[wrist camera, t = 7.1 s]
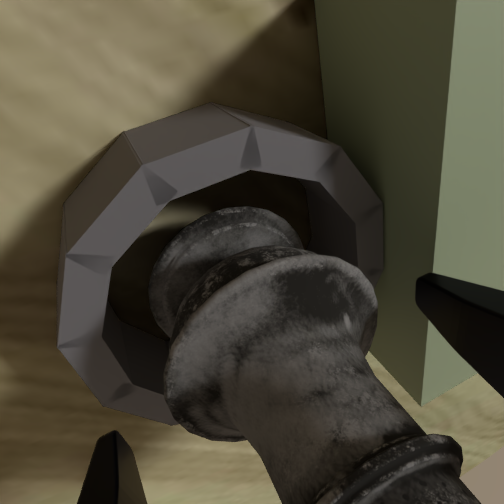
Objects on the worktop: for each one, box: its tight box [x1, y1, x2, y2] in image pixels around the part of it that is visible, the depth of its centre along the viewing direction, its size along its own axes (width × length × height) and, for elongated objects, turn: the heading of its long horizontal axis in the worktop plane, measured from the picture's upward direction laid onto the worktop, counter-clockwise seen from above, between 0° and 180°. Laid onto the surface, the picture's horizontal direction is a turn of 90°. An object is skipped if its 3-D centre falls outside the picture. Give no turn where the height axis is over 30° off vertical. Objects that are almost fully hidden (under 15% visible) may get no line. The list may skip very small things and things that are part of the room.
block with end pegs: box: [57, 0, 504, 426], centre depth 13 cm, size 17×20×5 cm
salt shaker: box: [148, 206, 481, 504], centre depth 8 cm, size 6×6×12 cm
